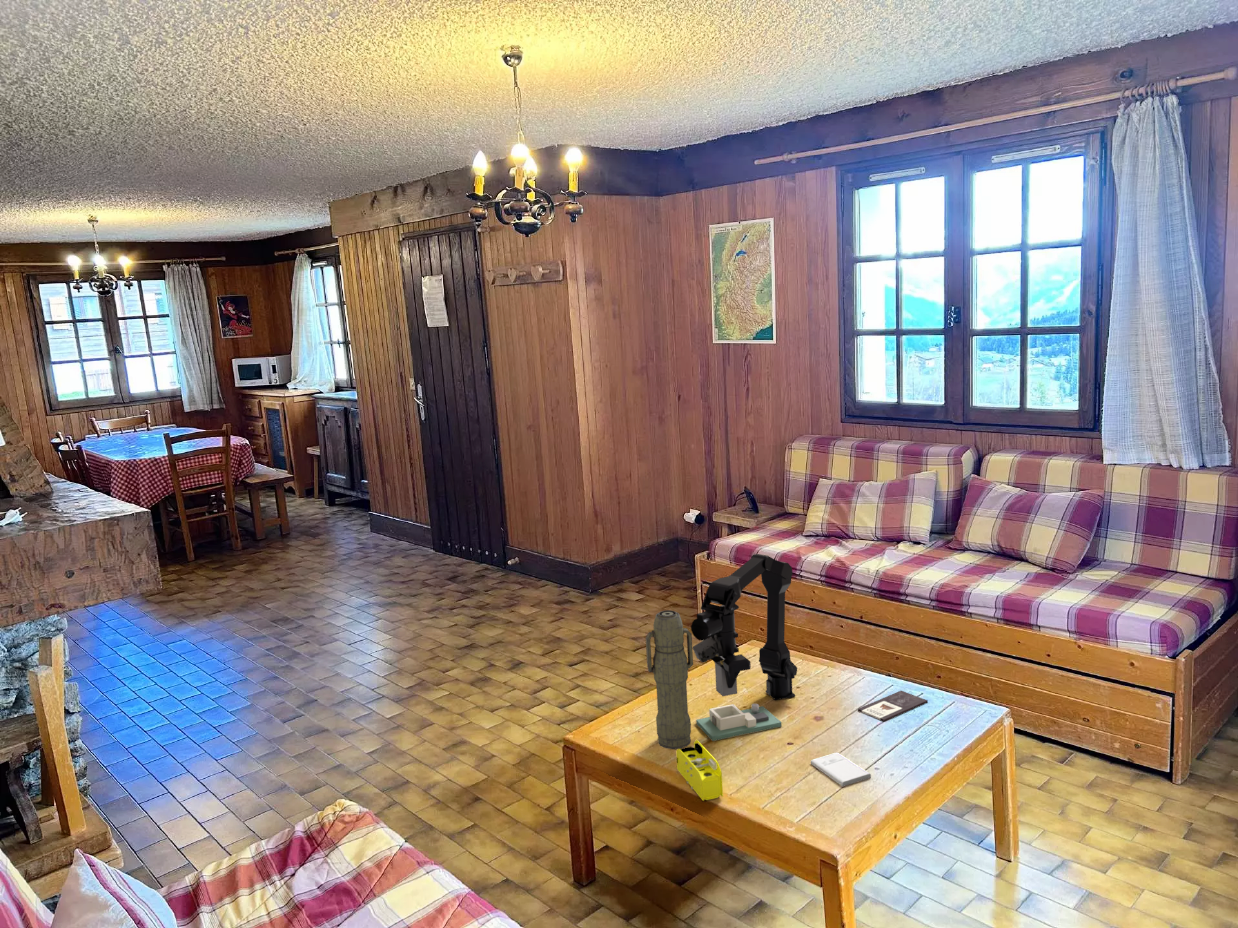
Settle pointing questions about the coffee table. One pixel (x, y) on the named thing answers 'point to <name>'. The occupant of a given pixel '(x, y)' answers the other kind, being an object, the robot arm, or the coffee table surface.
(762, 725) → the board
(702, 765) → the yellow toy chassis
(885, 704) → the chocolate bar
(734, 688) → the plug
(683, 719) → the thermos
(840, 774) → the external hard drive
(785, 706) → the coffee table surface
